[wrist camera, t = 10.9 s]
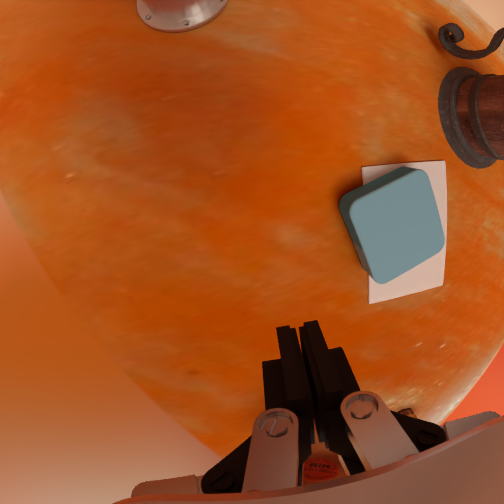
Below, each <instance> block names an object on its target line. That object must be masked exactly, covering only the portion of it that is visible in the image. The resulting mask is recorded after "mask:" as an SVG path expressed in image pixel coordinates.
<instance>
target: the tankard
mask: <svg viewBox="0 0 504 504" xmlns="http://www.w3.org/2000/svg"><path fill="white" fill-rule="evenodd" d="M449 32H451V33H452V34H451V35H449ZM438 36H439V40H440V43H441V44H442V46H443V47H444V48H445V49H446V50H447V51H448V52H449V53H450V54H452V55H454V56H456V57H459V58H462V59H470V60H471V59H479V58H483V57H485V56H487V55H489V54H490V53H492V52H494V51H495V50H496V49H497V48H498V47H499V46H500V44H501V43H502V41H503V39H504V28H502V29H500V30H498V31H497V32H496V33H495V34H494V36H493V38H492V40H491V42H490V44H489V46H488V47H487V48H486V49H483V50H478V51H472V50H465V49H462V48H460V47H459V46H457V45H456V44H455V43H458V42H459V41H461V40H463V38H464V32H463V31H462V29H461V28H460V27H459V26H458V25H457V24H454V23H448V24H446V25H444V26H442V27H441V28H440V29H439V32H438ZM438 109H439V115H440V121H441V125H442V128H443V131H444V134H445V136H446V139H447V141H448V143H449V145H450V146H451V148H452V150H453V151H454V152H455V154H456V155H457V156H458V157H459V158H460V159H461V160H462V161H463V162H464V163H466V164H467V165H469V166H471V167H474V168H477V169H479V168H486V167H489V166H491V165H492V164H493V163H495V161H496V160H497V159H499V160H504V75H494V74H487V75H481V74H479V73H478V72H476V71H474V70H472V69H470V68H466V67H457V68H455V69H452V70H451V71H450V72H448V73H447V74H446V76H445V77H444V79H443V80H442V83H441V86H440V90H439V97H438Z"/></svg>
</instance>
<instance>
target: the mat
mask: <svg viewBox="0 0 504 504" xmlns="http://www.w3.org/2000/svg"><path fill="white" fill-rule="evenodd" d="M403 166H404V167H410V168H416V169H421V170H423V171H425V172H426V173H427V175H428V177H429V180H430V183H431V186H432V190H433V193H434V197H435V200H436V204H437V208H438V211H439V215H440V219H441V224H442V228H443V232H444V237H445V243H444V246H443V248H442V250H441V251H440V252H439V253H437V254H435V255H434V256H432V257H431V258H429V259H427V260H426V261H424V262H422V263H421V264H419V265H417V266H415V267H414V268H412V269H410V270H409V271H407V272H405V273H403V274H402V275H400V276H398V277H396V278H395V279H393V280H391V281H389V282H387V283H385V284H378V283H376V282H375V281H374V280H373V279H372V278H371V276H370V275H369V274H368V303H369V304H372V303H376V302H381V301H385V300H389V299H393V298H397V297H401V296H405V295H408V294H412V293H416V292H420V291H423V290H427V289H431V288H434V287H438V286H441V285H443V278H444V268H445V255H446V235H447V186H446V167H445V161H427V162H412V163H399V164H388V165H377V166H367V167H361V171H362V180H363V185H365V184H367V183H369V182H371V181H373V180H375V179H377V178H379V177H381V176H383V175H385V174H387V173H389V172H391V171H393V170H395V169H397V168H399V167H403Z"/></svg>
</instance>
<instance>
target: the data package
mask: <svg viewBox="0 0 504 504" xmlns="http://www.w3.org/2000/svg"><path fill="white" fill-rule="evenodd" d="M339 209H340V212H341V214H342V217H343V219H344V221H345V224H346V226H347V229H348V231H349V234H350V236H351V239H352V241H353V244H354V246H355V249H356V251H357V254H358V257H359V259H360V262H361V265H362V267H363V269H364V270H365V271H366V272H367V273H368V274H369V275H370V276H371V278H372V279H373V280H374V281H375V282H376V283H378V284H385V283H387V282H389V281H391V280H393V279H395V278H396V277H398V276H400V275H402V274H403V273H405V272H407V271H409V270H410V269H412V268H414V267H415V266H417V265H419V264H421V263H422V262H424V261H426V260H427V259H429V258H431V257H432V256H434V255H435V254H437V253H439V252H440V251H441V250H442V248H443V246H444V243H445V237H444V232H443V228H442V224H441V219H440V215H439V211H438V208H437V204H436V200H435V197H434V193H433V190H432V186H431V183H430V180H429V177H428V175H427V173H426V172H425V171H423V170H421V169H416V168H410V167H404V166H403V167H399V168H397V169H395V170H393V171H391V172H389V173H387V174H385V175H383V176H381V177H379V178H377V179H375V180H373V181H371V182H369V183H367V184H365V185H363V186H361V187H359V188H357V189H355V190H352V191H350V192H348V193H346V194H345V195H343V196H342V198H341V199H340V202H339Z"/></svg>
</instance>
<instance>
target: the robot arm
mask: <svg viewBox="0 0 504 504" xmlns="http://www.w3.org/2000/svg"><path fill="white" fill-rule="evenodd" d="M220 1H223V2H220ZM228 1H229V0H137V2H136V8H137V12H138V14H139V16H140V18H141V19H142V20H143V21H144V23H146V24H147V25H148V26H149V27H151V28H154V29H156V30H159V31H163V32H183V31H187V30H192V29H195V28H197V27H200V26H202V25H204V24H206V23H208V22H210V21H211V20H213V19H214V18H215V17H217V16H218V15H219V14H220V13H221V12H222V11H223V9H224V8H225V7H226V5H227V3H228ZM187 24H189V25H188V26H186V25H187ZM276 330H277V336H278V343H279V349H280V355H281V359H276V360H269V361H263V362H262V368H263V381H264V395H265V408H266V411H264V412H263V413H261V414H260V415H259V416H258V417H257V418H256V420H255V422H254V425H253V431H252V435H251V436H250V437H249V438H248V439H247V440H246V441H244V442H243V443H242V444H241V445H240V446H239V447H237V448H236V449H235V450H234V451H232V452H231V453H230V454H229V455H228V456H226V457H225V458H224V459H223V460H221V461H220V462H219V463H218V464H216V465H215V466H214V467H213V468H211V469H210V470H209V471H207V473H206V474H205V475H202V476H197V477H196V476H195V475H189V476H184V477H178V478H171V479H164V480H155V481H146V482H143V483H140V484H138V485H137V486H135V488H134V489H133V491H132V495H131V498H128V499H123V500H120V501H118V502H115V503H113V504H504V416H501V417H500V415H499V414H497V413H496V412H491V411H489V412H483V413H479V414H476V415H472V416H469V417H465V418H461V419H457V420H453V421H449V422H445V423H444V425H442V426H439V425H436V424H434V423H431V422H427V421H424V420H420V419H417V418H413V417H410V416H407V415H403V414H400V413H397V412H394V411H391V410H389V409H388V407H387V406H386V404H385V403H384V402H383V400H382V399H381V398H380V397H379V396H378V395H377V394H375V393H373V392H370V391H360V388H359V386H358V384H357V381H356V379H355V376H354V374H353V372H352V369H351V367H350V365H349V363H348V360H347V358H346V356H345V353H344V351H343V349H342V348H341V347H338V348H333V349H329V350H328V347H327V345H326V342H325V339H324V337H323V334H322V331H321V329H320V326H319V324H318V321H317V320H314V321H309V322H304V326H302V327H299V332H300V341H301V349H300V345H299V341H298V337H297V333H296V329H295V328H291V329H290V326H289V325H288V326H282V327H276ZM301 350H302V353H301ZM314 422H315V426H316V431H317V435H318V440H319V443H321V442H325V446H326V449H328V448H329V450H330V451H332V452H334V453H336V454H338V458H339V460H340V462H341V465H342V467H343V469H344V471H345V473H346V475H347V477H343V478H339V479H335V480H330V481H325V482H320V483H315V484H310V485H304V486H303V470H304V465H303V463H304V462H305V461H306V460H307V459H308V458H309V456H310V455H311V454H312V449H311V444H315V432H314Z"/></svg>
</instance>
